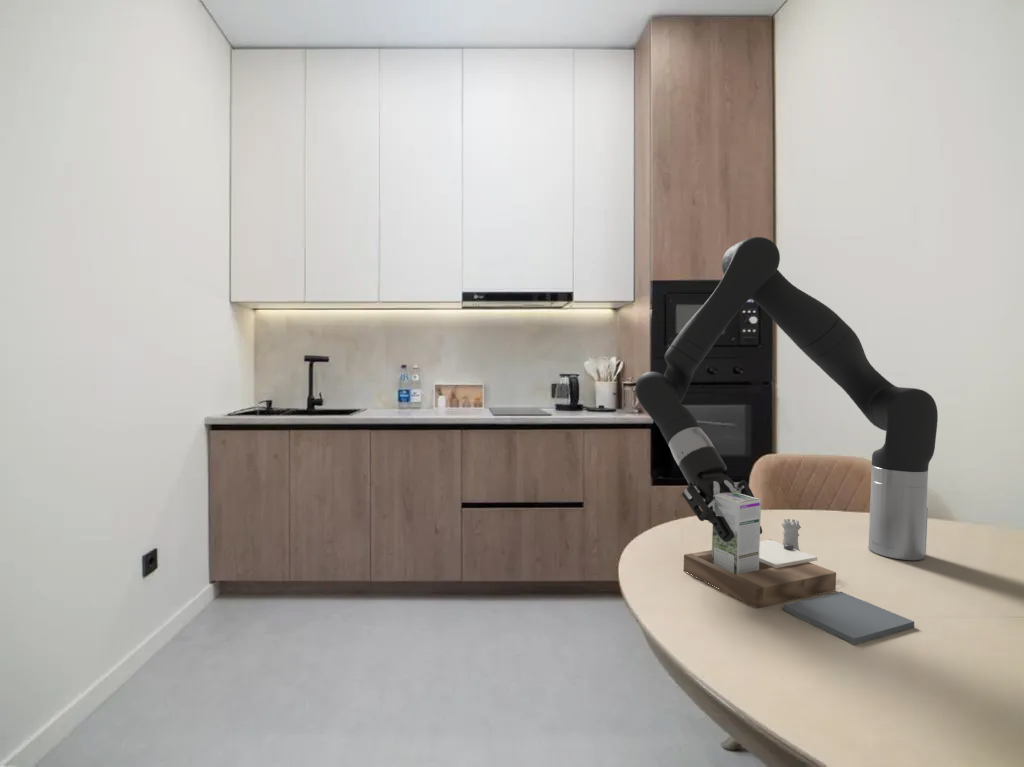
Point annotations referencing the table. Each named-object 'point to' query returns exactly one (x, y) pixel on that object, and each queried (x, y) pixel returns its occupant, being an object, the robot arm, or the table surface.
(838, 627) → the rubber mat
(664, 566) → the table surface
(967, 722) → the table surface
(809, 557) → the sliding lid
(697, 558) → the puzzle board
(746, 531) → the syrup box
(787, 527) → the rook chess piece
